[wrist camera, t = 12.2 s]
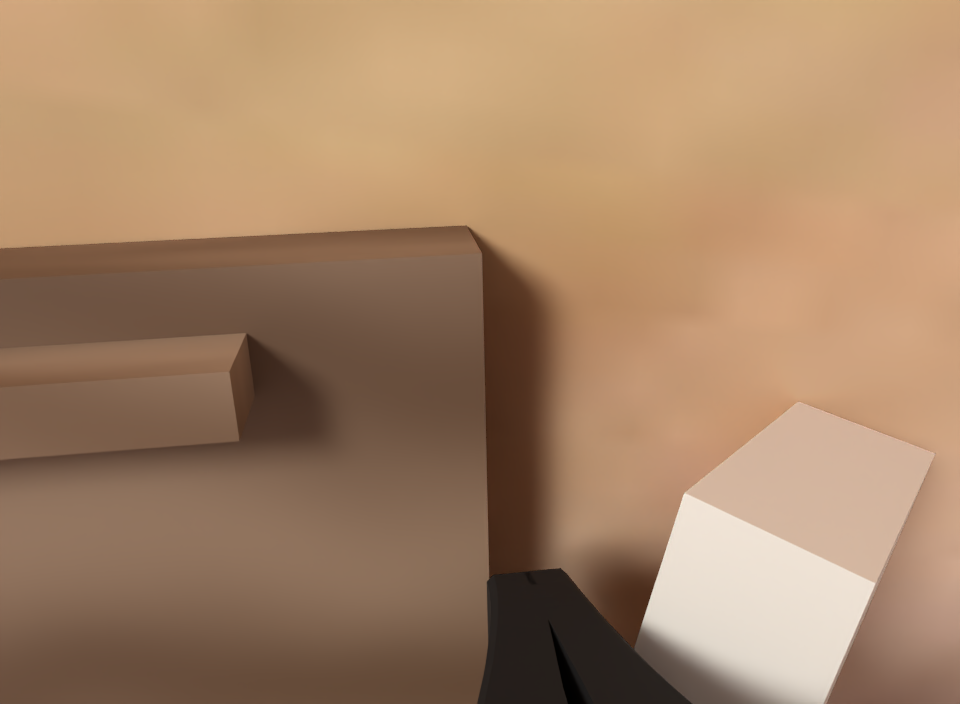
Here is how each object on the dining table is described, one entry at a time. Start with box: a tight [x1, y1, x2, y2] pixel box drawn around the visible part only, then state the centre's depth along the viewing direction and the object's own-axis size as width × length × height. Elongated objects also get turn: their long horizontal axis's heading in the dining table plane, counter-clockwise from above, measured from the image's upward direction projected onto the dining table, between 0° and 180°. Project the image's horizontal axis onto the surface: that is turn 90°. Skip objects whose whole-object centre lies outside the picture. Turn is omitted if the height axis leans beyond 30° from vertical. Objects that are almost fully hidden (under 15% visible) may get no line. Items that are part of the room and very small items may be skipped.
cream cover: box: [634, 401, 936, 704], centre depth 14 cm, size 7×6×2 cm
